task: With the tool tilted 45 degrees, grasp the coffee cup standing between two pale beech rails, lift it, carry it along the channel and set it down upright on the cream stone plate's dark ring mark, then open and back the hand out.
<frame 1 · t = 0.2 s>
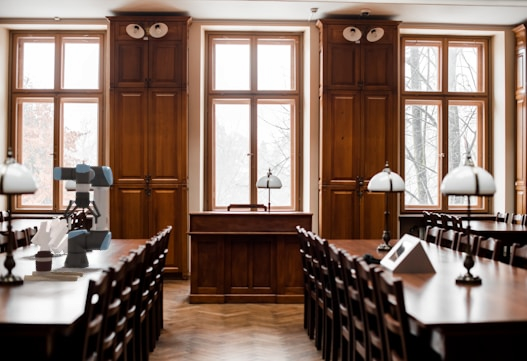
hand: (82, 229, 318), 28 cm above the table, tool pointing down, fingers open, 13 cm apart
coffee cup: (43, 278, 319), on the table
stone aperture plate: (67, 278, 320), on the table
beech guide rails: (54, 278, 319), on the table
white jagged sculpture: (51, 255, 415), on the table
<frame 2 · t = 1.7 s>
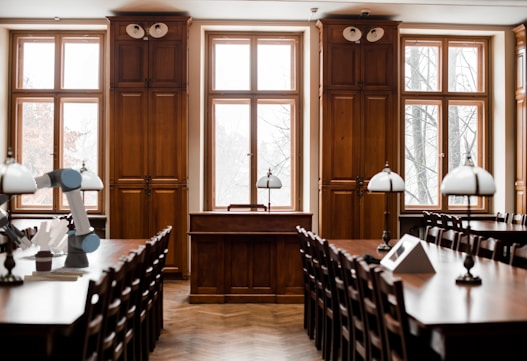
hand: (28, 247, 317), 17 cm above the table, tool tilted 45°, fingers open, 13 cm apart
nothing on the table moved.
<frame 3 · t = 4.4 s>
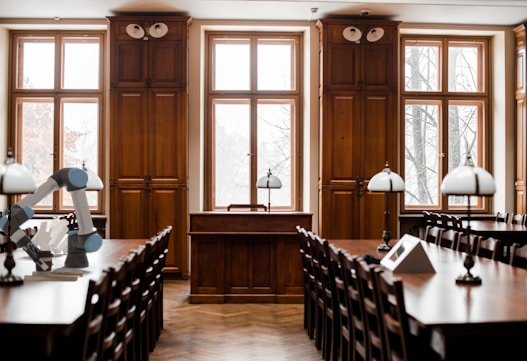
hand: (49, 267, 319), 6 cm above the table, tool tilted 45°, fingers closed on coffee cup, 10 cm apart
coffee cup: (43, 278, 319), on the table, touching gripper
everything else where it was.
when the fingers open (7 cm above the table, at t = 9.8 s): coffee cup stays where it is, resting on stone aperture plate.
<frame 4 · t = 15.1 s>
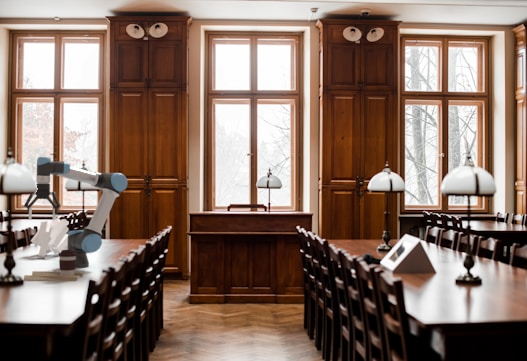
hand: (42, 219, 334), 32 cm above the table, tool pointing down, fingers open, 13 cm apart
coffee cup: (67, 277, 320), point 1 cm above the table, touching stone aperture plate
everything else where it was.
at the end: coffee cup inside the target area (0.1 cm from its centre), point 0.5 cm above the table; coffee cup tilted 0°; the gripper is holding nothing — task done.
